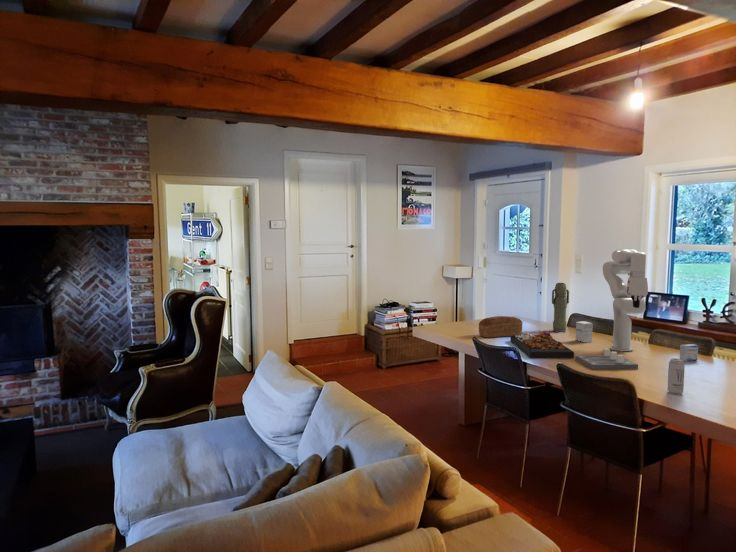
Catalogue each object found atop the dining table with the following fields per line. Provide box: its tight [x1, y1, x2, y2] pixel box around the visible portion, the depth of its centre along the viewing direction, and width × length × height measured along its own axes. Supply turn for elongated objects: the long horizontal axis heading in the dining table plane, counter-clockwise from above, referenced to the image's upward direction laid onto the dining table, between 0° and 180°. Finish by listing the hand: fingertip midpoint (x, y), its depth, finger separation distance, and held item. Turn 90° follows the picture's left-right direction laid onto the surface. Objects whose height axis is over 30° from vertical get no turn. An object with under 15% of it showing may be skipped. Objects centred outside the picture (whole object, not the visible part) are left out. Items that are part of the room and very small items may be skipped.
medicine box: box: [679, 343, 699, 362], centre depth 280 cm, size 8×4×9 cm, turn 105°
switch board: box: [575, 354, 639, 371], centre depth 272 cm, size 20×24×3 cm
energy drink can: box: [667, 357, 686, 396], centre depth 223 cm, size 6×6×15 cm
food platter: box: [509, 329, 575, 359], centre depth 308 cm, size 45×25×10 cm, turn 178°
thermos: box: [551, 282, 570, 333], centre depth 361 cm, size 9×12×35 cm
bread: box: [478, 315, 524, 338], centre depth 348 cm, size 12×31×14 cm, turn 105°
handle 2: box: [617, 354, 625, 363], centre depth 265 cm, size 2×3×4 cm, turn 92°
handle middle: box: [610, 351, 618, 360], centre depth 272 cm, size 2×3×4 cm, turn 92°
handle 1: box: [602, 348, 611, 357], centre depth 279 cm, size 2×3×4 cm, turn 92°
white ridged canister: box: [575, 320, 594, 343], centre depth 329 cm, size 7×7×13 cm
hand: (636, 307), depth 281 cm, fingers closed
